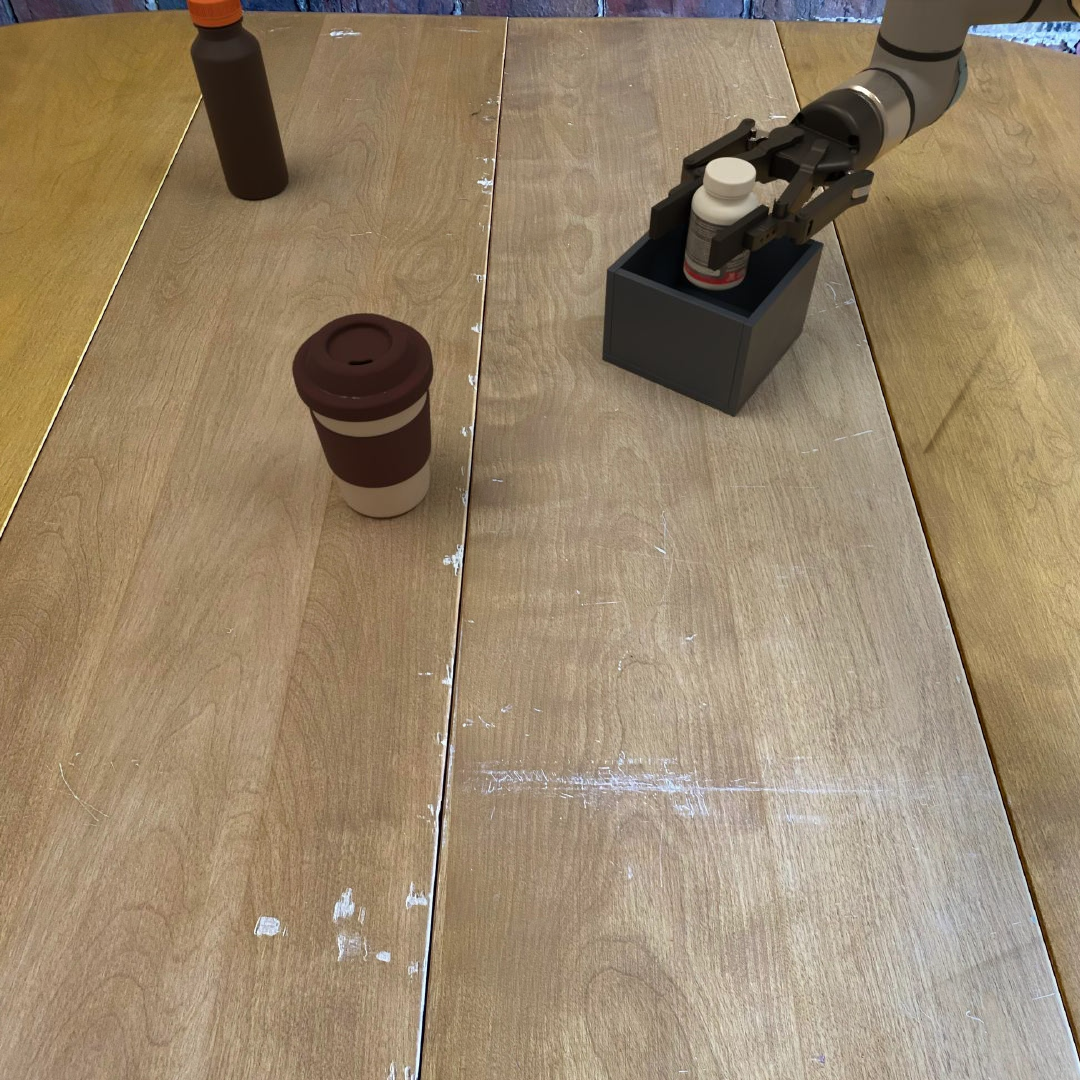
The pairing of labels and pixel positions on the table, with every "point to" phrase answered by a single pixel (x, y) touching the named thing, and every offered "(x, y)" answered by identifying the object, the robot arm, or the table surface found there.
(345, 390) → the coffee cup
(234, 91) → the brown water bottle
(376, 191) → the table surface
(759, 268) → the waste bin
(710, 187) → the pill bottle
